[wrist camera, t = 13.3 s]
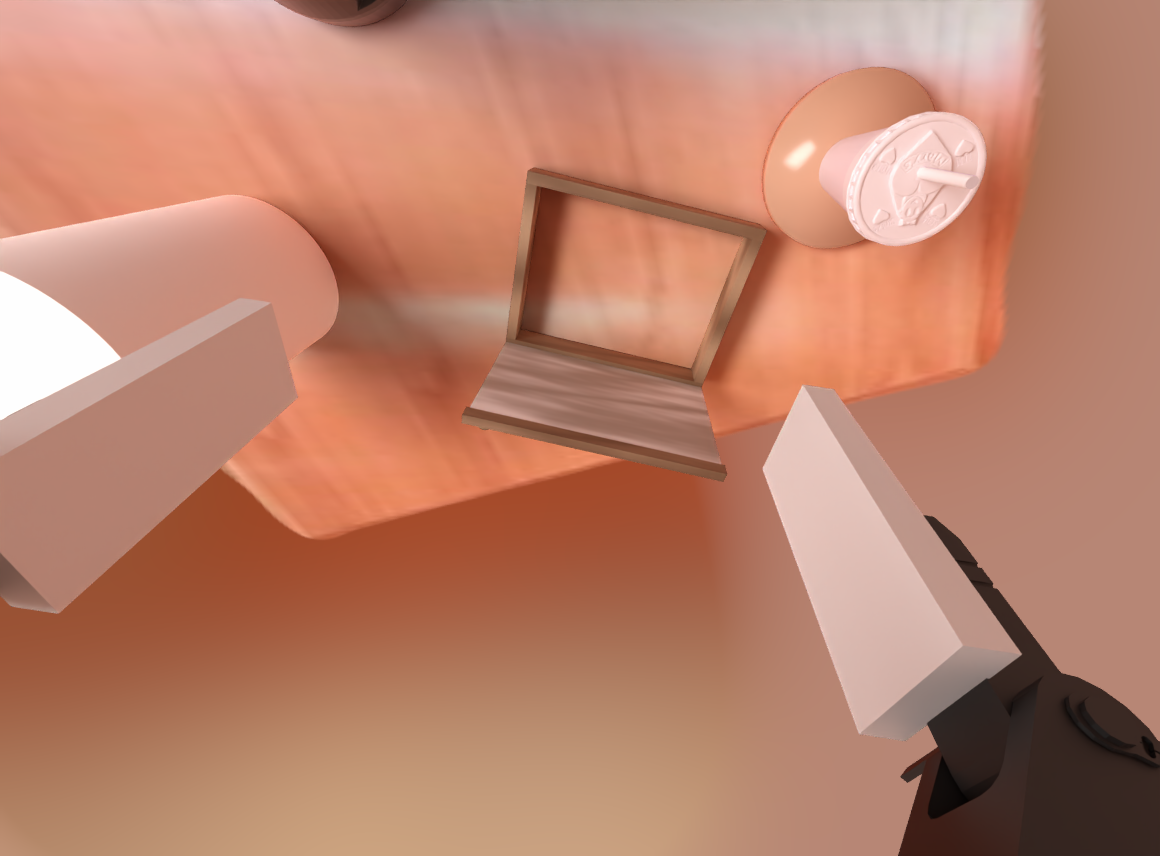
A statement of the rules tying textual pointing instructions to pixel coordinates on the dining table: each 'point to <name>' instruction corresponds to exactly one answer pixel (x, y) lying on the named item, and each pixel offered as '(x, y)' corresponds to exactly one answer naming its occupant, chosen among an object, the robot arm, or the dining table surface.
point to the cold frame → (609, 361)
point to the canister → (150, 287)
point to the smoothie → (906, 176)
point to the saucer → (813, 131)
